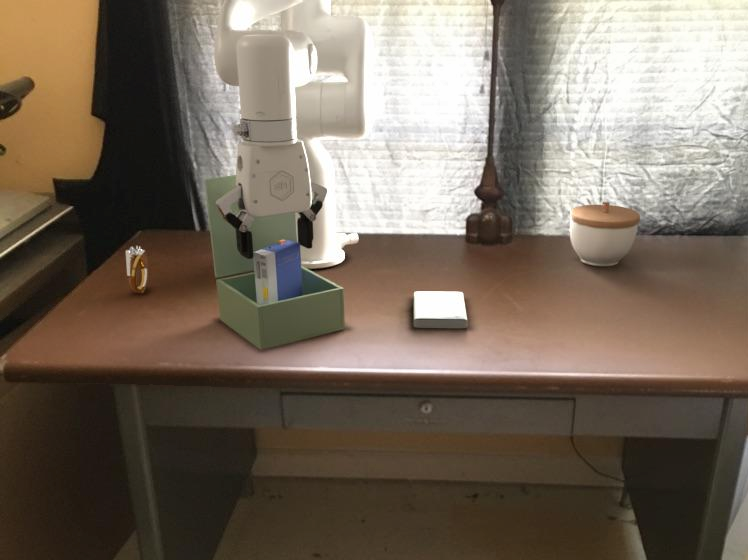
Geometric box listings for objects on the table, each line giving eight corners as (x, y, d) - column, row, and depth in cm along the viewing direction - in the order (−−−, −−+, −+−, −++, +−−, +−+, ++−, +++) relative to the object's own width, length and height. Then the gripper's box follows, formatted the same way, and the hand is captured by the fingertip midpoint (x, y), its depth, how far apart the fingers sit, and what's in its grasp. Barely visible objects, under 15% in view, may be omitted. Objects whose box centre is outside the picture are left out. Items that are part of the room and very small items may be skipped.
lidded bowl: (642, 257, 162) (650, 200, 157) (620, 275, 152) (628, 214, 147) (580, 246, 168) (586, 191, 163) (555, 263, 158) (560, 204, 153)
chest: (344, 329, 129) (343, 288, 126) (261, 350, 122) (257, 307, 119) (299, 302, 139) (297, 263, 136) (219, 319, 132) (216, 279, 129)
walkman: (290, 311, 134) (285, 237, 128) (303, 315, 133) (300, 240, 127) (256, 327, 128) (250, 250, 123) (270, 330, 127) (265, 253, 121)
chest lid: (292, 168, 130) (290, 167, 130) (205, 179, 122) (203, 178, 123) (298, 261, 136) (296, 261, 136) (216, 277, 129) (215, 277, 129)
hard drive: (467, 319, 129) (463, 290, 140) (413, 318, 129) (413, 290, 140) (467, 329, 130) (462, 300, 141) (413, 328, 130) (413, 299, 141)
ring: (141, 300, 140) (135, 253, 136) (123, 299, 140) (116, 252, 136) (158, 286, 146) (152, 241, 142) (140, 285, 146) (134, 240, 142)
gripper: (222, 140, 110) (233, 267, 118) (336, 129, 119) (339, 248, 127) (200, 132, 116) (211, 254, 123) (310, 123, 125) (314, 237, 132)
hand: (276, 251), depth 125 cm, fingers open, 9 cm apart
